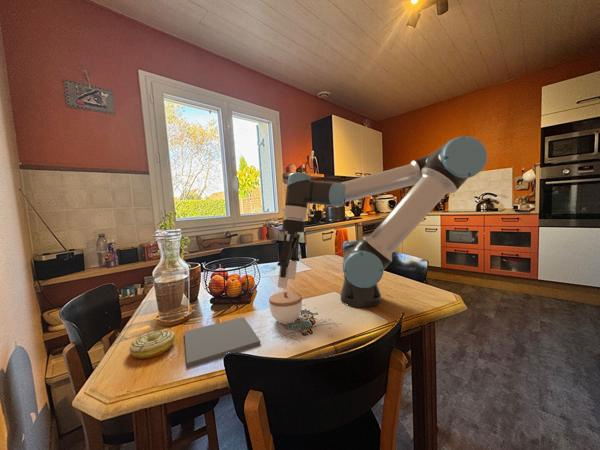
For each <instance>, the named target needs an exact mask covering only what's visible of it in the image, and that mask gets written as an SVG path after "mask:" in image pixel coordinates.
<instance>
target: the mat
mask: <svg viewBox="0 0 600 450" xmlns="http://www.w3.org/2000/svg"><path fill="white" fill-rule="evenodd" d="M183 334H184V344H185V345H184V347H185V355H186V356H185V357H186V367H187V368H190V367H193V366H196V365H198V364H202V363H204V362H208V361H211V360H215V359H217V358H222V357H224V355H225V354H226V353H228V352H234V353H237V352H240V351H244V350H247V349H250V348H253V347H257V346H261V340H260V338H259V337H258V335H257V334H256V332H255V331H254V330H253V328H252V327H251V326H250V323H248V321H247V320H246V318H245V317H244V316H241V317H237V318H232V319H229V320H228V319H227V320H225V321H221V322H216V323H212V324H208V325H205V326H201V327H197V328H193V329H189V330H184V331H183ZM225 356H226V355H225Z"/></svg>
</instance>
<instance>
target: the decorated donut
mask: <svg viewBox="0 0 600 450" xmlns="http://www.w3.org/2000/svg"><path fill="white" fill-rule="evenodd" d="M175 339H176V333H175V332H173V331H172V330H168V329H167V330H165V329H158V330H154V331H150V332H146V333H144V334H141V335H139V336H138V337H137V338H135V339H134V340H133V341H132V342H131V343H130V345H129V352H130V353H131V356H132V357H133V358H135V359H151V358H154V357H157V356H160V355H162V354H164V353H165V352H167V351H168V350H170V349H171V347H172V346H173V345H174V342H175Z"/></svg>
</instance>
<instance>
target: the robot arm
mask: <svg viewBox="0 0 600 450" xmlns="http://www.w3.org/2000/svg"><path fill="white" fill-rule="evenodd" d="M487 162H488V151H487V148H486V146H485V145H484V144H483V142H482V141H481V140H480V139H478V138H475V137H473V136H471V135H470V136H469V135H461V136H458V137H457V136H456V137H455V138H452V139H449V140H448V141H446V143H445V144H443V145H441V146H440V147H439V148H437V149H435V150H434V151H432V152H430V153H429V154H427V155H425V156H423V157H420V158H417V159H413V160H411V161H410V163H409V164H405V165H402V166H398V167H394V168H391V169H388V170H383V171H379V172H376V173H372V174H368V175H365V176H361V177H357V178H353V179H350V180H346V181H343V182H340V183H339V182H330V181H329V182H328V181H327V182H326V181H315V180H312V179H311V175H310V174H308V173H304V172H291V173H290V174H289V175H288V178H287V184H286V192H285V204H284V208H282V212H284V213H283V218H284V219H283V220H282V227H281V229H282V231H284V232H287V233H284V234H283V235H284V236H283V244H282V248H281V252H280V256H279V260H278V262H277V266H278V267H279V274H278V281H277V282H278V284H277V288H281V289H287V287H288V279H289V280H296V272H297V266H298V265H297V263H298V262H300V258H299V253H300V252H299V250H300V248H299V247H300V245H299V244H300V233H305V228H306V220H307V215H308V205H309V204H311V205H321V206H325V207H326V206H327V207H343V206H344V205H345V203H347V202H351V201H355V200H359V199H363V198H367V197H372V196H375V195H380V194H384V193H387V192H392V191H395V190H399V189H403V188H407V187H410V186H412V187H411V189H409V191H408V192H407V193H406V194H405V196H403V198H402V199H401V200H400V201H399V202H398V203H397V205H395V207H394V208H393V209H392V210H391V211H390V213H389V214H388V215H387V216H386V217H385V218H384V219H383V220H382V221H381V223H380V224H379V225H378V226H377V227H376V229H374V231H372V233H371V234H370V235H366V236H362V238H360V239H359V240H346V241H343V243H342V249H341V250H342V257H343V259H342V271H343V272H342V273H343V278H344V279H343V284H342V287H341V291H340V301H342V302H341V303H343V302H344V303H346V304H348V305H347V306H349V305H351V306H350V307H353V306H357V307H356V308H370V307H371V308H372V307H375V306H378V305H380V304H381V303H382V294H381V291H380V289H379V286H378V284H379V282H380V281H381V279H382V278H383V275H384V270H386V268H387V267H388V266H389V265H390V264H391V263H392V262H393V254H394V251H396V250H397V249H398V247H399V246H400V245H401V244H402V243H403V242H404V241H405V240H406V239H407V237H409V236H410V234H412V232H413V231H414V230H415V229H416V228H417V227H418V225H420V223H421V222H422V221H423V220H424V219H425V218H426V217H427V216H428V214H429V213H431V211H433V209H434V208H435V207H437V205H438V203H439V202H440V201H441V200H443V198H444V197H445V196H446V195H447V194H452V193H456V192H458V189H460V187H461V186H463V185H464V183H465V182H466V181H467V180H468V179H469V178H474V177H475V176H477V175H478V174H479V173H480V172H482V171H483V169H484V168H485V166H486V164H487ZM298 233H299V234H298ZM380 302H381V303H380ZM344 303H343V304H344ZM346 304H345V305H346Z"/></svg>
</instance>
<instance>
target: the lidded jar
mask: <svg viewBox="0 0 600 450" xmlns="http://www.w3.org/2000/svg"><path fill="white" fill-rule="evenodd" d="M302 300H303V296H302V294H301V293H299V292H295V291H281V292H276V293H274V294H272V295H270V296H269V298H268V302H269V309H270V313H271V316H272V317H273V318H274V320H276V321H277V323H278V322H279V323H278V324H280V323H282V324H281V325H288V324H287V323H291V322H293V321H295V320H296V321H297V319H298V318H299V317H300V315H301V313H302V309H303V307H302V306H303V301H302ZM296 321H295V322H296ZM293 323H294V322H293ZM291 324H292V323H291Z"/></svg>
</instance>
